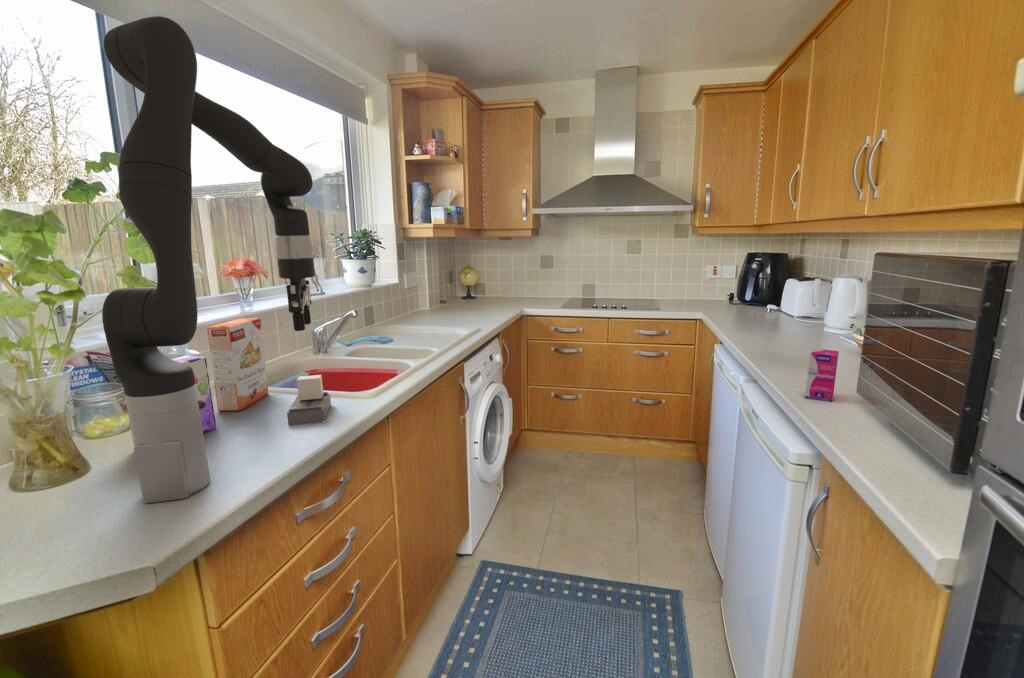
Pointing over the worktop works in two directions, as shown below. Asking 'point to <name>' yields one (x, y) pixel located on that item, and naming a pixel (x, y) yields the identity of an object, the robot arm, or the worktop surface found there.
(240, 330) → the cracker box
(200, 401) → the candy box
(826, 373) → the supplement box
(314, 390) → the fader tab
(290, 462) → the worktop surface
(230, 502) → the worktop surface
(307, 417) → the fader console
